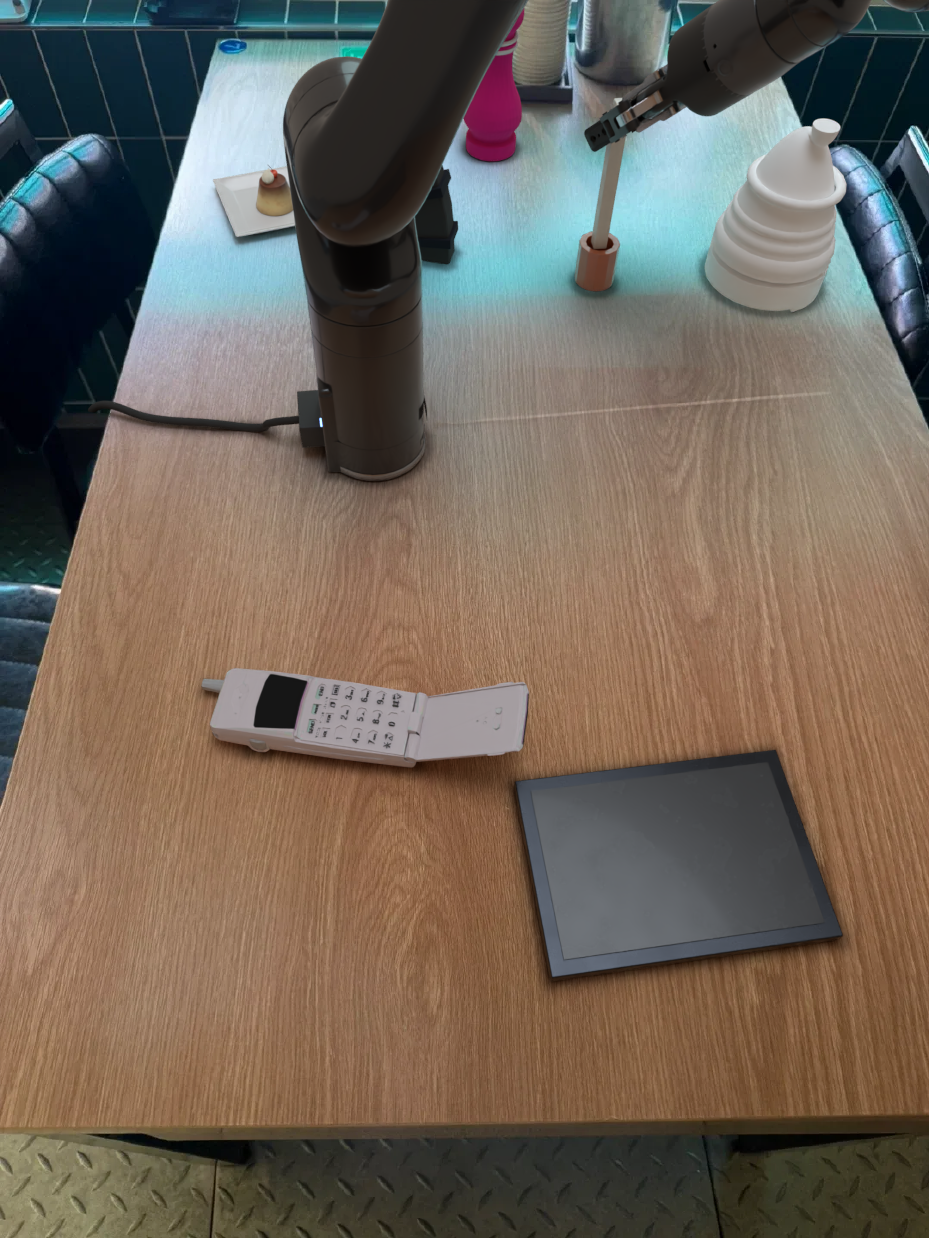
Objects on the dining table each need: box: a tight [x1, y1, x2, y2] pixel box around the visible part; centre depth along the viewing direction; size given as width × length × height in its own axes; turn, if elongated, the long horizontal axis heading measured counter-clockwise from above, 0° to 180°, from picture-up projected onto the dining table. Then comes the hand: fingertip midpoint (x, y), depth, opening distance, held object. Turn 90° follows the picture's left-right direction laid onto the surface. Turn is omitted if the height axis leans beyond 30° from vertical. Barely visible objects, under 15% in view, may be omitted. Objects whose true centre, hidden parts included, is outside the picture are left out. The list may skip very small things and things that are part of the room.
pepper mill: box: [463, 8, 525, 162], centre depth 111 cm, size 7×7×20 cm
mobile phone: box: [201, 667, 530, 768], centre depth 70 cm, size 6×6×25 cm
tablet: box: [513, 749, 844, 982], centre depth 67 cm, size 20×14×1 cm
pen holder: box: [573, 230, 621, 292], centre depth 102 cm, size 4×4×5 cm
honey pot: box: [703, 117, 848, 313], centre depth 98 cm, size 13×13×18 cm
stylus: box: [591, 97, 627, 249], centre depth 94 cm, size 1×1×15 cm
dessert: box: [212, 164, 295, 238], centre depth 109 cm, size 12×12×5 cm
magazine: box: [415, 164, 459, 265], centre depth 102 cm, size 4×13×15 cm, turn 77°
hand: (598, 136), depth 92 cm, fingers closed on stylus
